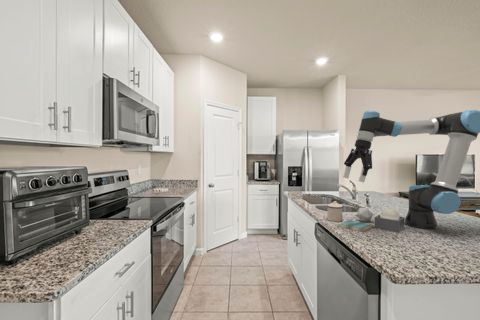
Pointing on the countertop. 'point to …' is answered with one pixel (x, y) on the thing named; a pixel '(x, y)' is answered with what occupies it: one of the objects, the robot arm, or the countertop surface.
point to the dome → (390, 214)
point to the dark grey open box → (389, 224)
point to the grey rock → (364, 214)
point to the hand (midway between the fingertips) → (353, 179)
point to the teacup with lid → (334, 212)
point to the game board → (355, 225)
